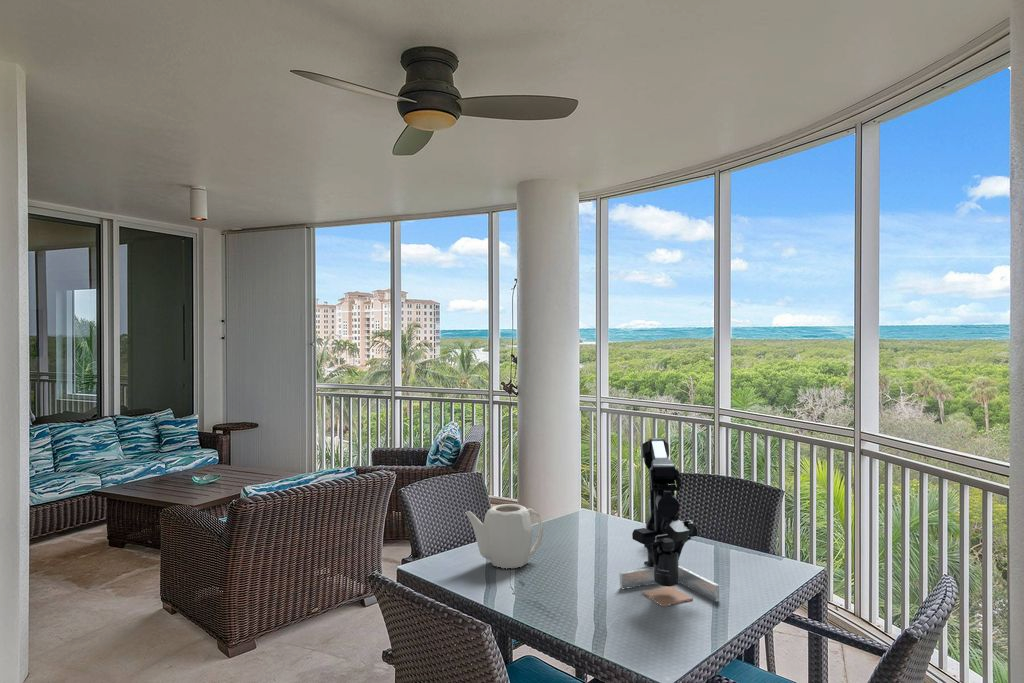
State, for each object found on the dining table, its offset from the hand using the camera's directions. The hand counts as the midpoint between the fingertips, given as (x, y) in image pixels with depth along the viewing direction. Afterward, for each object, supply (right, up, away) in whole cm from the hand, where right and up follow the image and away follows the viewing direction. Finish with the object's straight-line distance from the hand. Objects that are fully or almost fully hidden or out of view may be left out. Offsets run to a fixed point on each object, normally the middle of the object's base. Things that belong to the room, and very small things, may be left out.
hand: (666, 563), depth 173 cm
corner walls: (+1, -10, +1) cm, 10 cm away
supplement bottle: (0, -6, 0) cm, 6 cm away
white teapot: (-46, -12, +30) cm, 56 cm away
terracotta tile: (0, -10, 0) cm, 10 cm away
